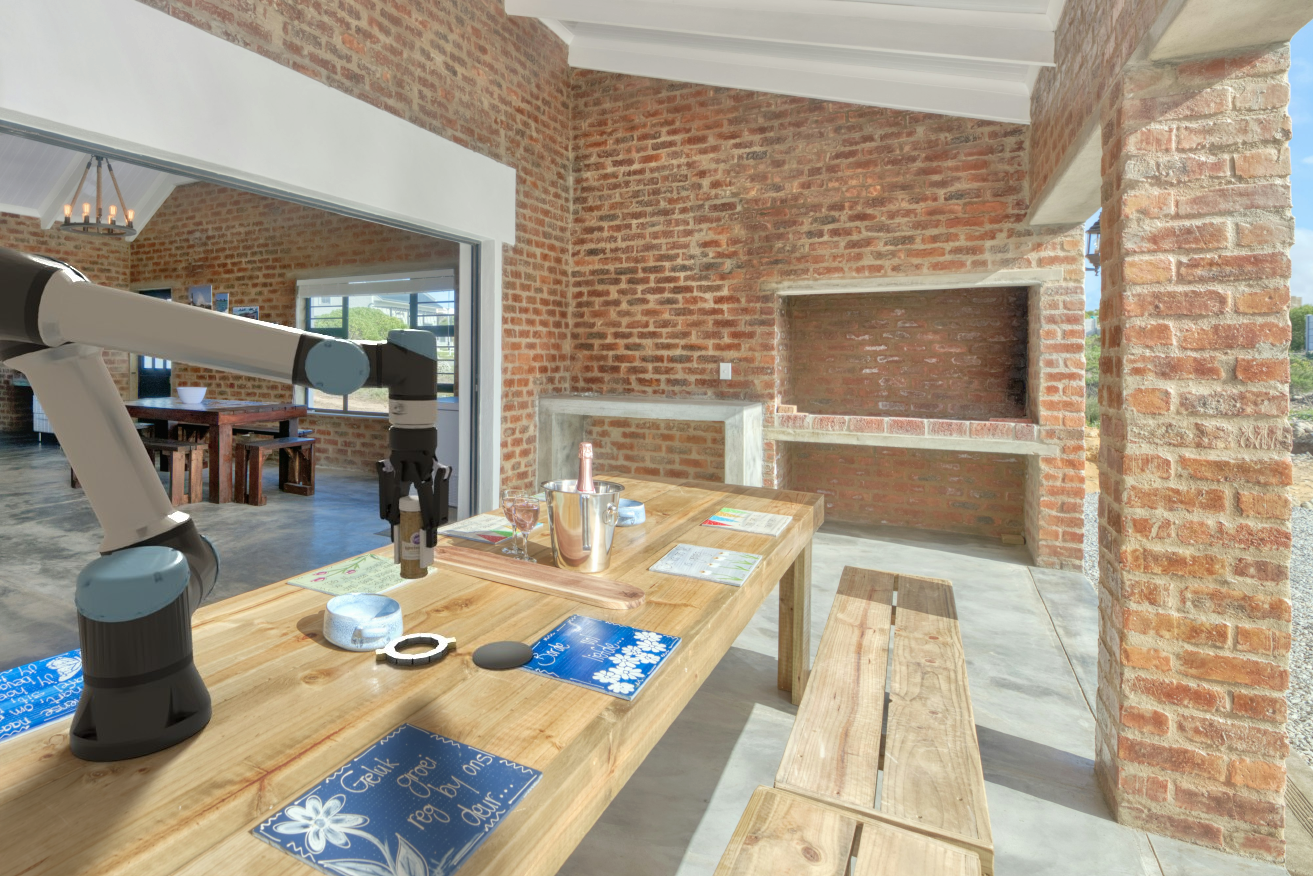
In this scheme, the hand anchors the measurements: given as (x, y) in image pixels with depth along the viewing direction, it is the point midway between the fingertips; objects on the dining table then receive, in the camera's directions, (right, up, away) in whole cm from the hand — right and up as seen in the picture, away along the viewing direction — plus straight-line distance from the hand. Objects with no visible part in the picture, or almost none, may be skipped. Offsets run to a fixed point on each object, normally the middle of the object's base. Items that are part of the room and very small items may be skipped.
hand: (414, 563), depth 114 cm
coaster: (+15, -16, +2) cm, 22 cm away
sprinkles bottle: (0, -2, 0) cm, 2 cm away
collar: (0, -16, +2) cm, 16 cm away
